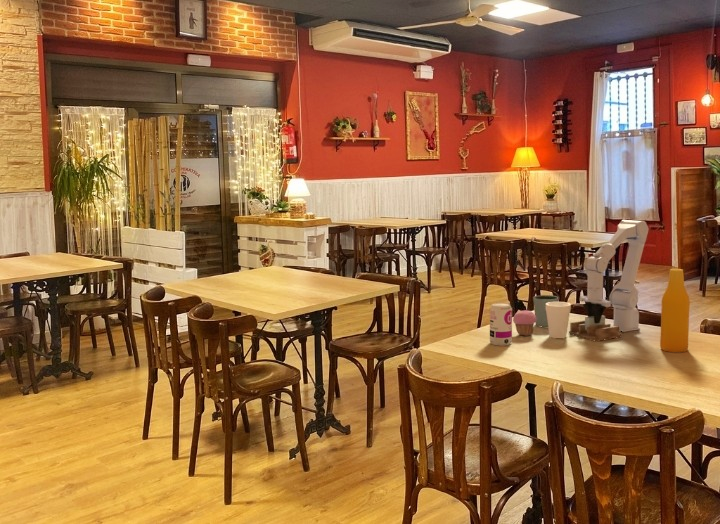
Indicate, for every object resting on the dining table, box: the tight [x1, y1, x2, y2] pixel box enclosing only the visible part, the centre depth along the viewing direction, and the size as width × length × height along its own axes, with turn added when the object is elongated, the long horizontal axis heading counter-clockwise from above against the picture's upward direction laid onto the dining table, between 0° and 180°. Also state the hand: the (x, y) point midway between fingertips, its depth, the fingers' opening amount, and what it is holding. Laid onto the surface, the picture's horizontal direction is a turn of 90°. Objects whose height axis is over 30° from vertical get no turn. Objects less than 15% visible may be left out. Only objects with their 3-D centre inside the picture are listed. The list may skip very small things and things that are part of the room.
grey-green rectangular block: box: [584, 314, 606, 330], centre depth 281 cm, size 8×2×5 cm, turn 116°
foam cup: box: [546, 301, 572, 339], centre depth 281 cm, size 10×9×13 cm
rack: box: [568, 319, 621, 342], centre depth 282 cm, size 12×15×4 cm
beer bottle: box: [659, 268, 691, 353], centre depth 257 cm, size 9×9×29 cm
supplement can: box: [489, 302, 513, 347], centre depth 273 cm, size 8×8×15 cm
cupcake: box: [512, 309, 536, 337], centre depth 285 cm, size 9×9×10 cm
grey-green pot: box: [532, 294, 559, 328], centre depth 301 cm, size 10×10×12 cm
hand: (594, 322), depth 281 cm, fingers closed on grey-green rectangular block, 2 cm apart
